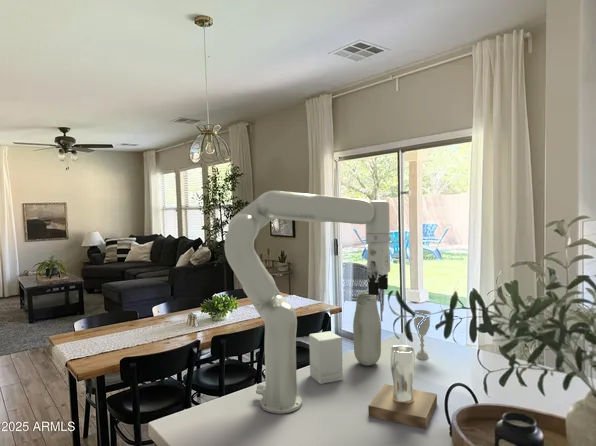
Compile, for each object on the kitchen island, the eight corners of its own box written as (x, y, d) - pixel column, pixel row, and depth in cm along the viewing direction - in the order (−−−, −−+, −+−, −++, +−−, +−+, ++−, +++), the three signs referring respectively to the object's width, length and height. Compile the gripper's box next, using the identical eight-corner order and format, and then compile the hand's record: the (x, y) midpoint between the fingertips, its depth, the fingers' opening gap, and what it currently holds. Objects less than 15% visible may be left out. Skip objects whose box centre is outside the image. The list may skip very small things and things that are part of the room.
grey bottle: (358, 357, 162) (357, 287, 161) (384, 361, 158) (383, 289, 157) (350, 366, 153) (349, 292, 152) (377, 371, 149) (376, 294, 148)
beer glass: (416, 405, 116) (415, 353, 116) (391, 403, 117) (390, 352, 117) (414, 394, 123) (414, 345, 122) (390, 393, 124) (390, 344, 124)
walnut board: (368, 415, 117) (368, 405, 117) (384, 393, 131) (384, 383, 131) (426, 429, 109) (426, 418, 109) (436, 403, 123) (436, 393, 123)
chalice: (410, 354, 164) (409, 310, 164) (425, 353, 166) (425, 309, 165) (418, 361, 157) (418, 315, 157) (434, 360, 158) (434, 313, 158)
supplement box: (343, 380, 142) (342, 337, 141) (320, 384, 138) (319, 341, 138) (331, 370, 150) (331, 330, 150) (309, 375, 147) (308, 333, 146)
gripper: (380, 241, 122) (381, 298, 122) (396, 237, 137) (397, 288, 138) (357, 240, 125) (357, 296, 126) (374, 236, 141) (375, 286, 141)
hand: (378, 291), depth 132 cm, fingers open, 9 cm apart
